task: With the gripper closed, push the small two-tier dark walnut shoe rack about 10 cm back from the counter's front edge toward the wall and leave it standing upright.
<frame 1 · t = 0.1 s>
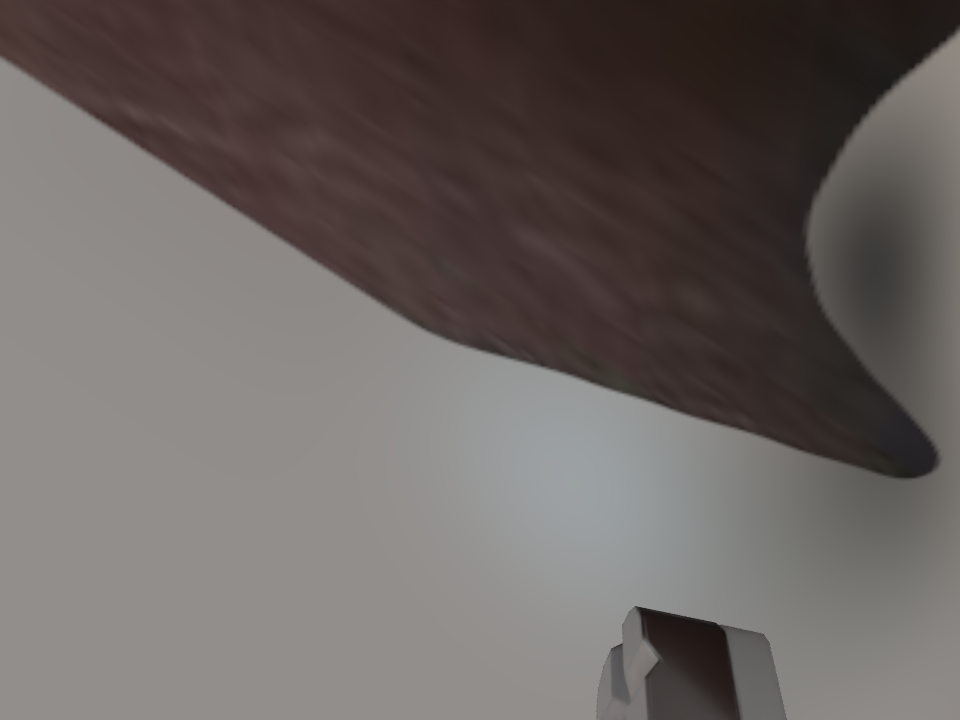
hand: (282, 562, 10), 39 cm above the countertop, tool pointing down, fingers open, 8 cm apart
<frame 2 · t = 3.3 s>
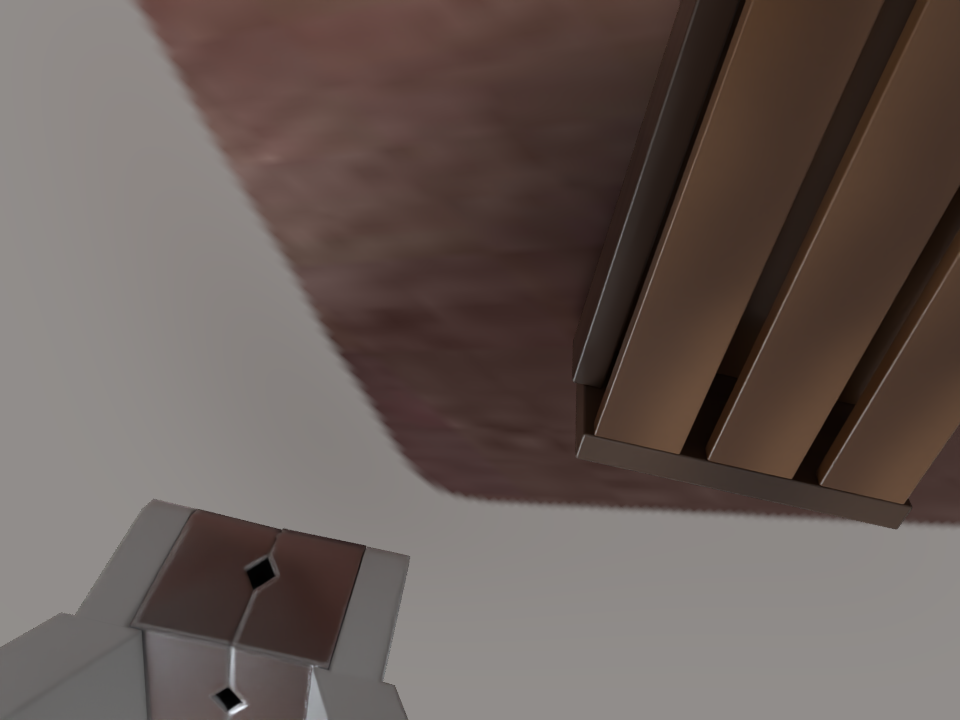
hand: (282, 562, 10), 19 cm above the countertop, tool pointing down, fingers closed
rack: (800, 165, 25), on the countertop
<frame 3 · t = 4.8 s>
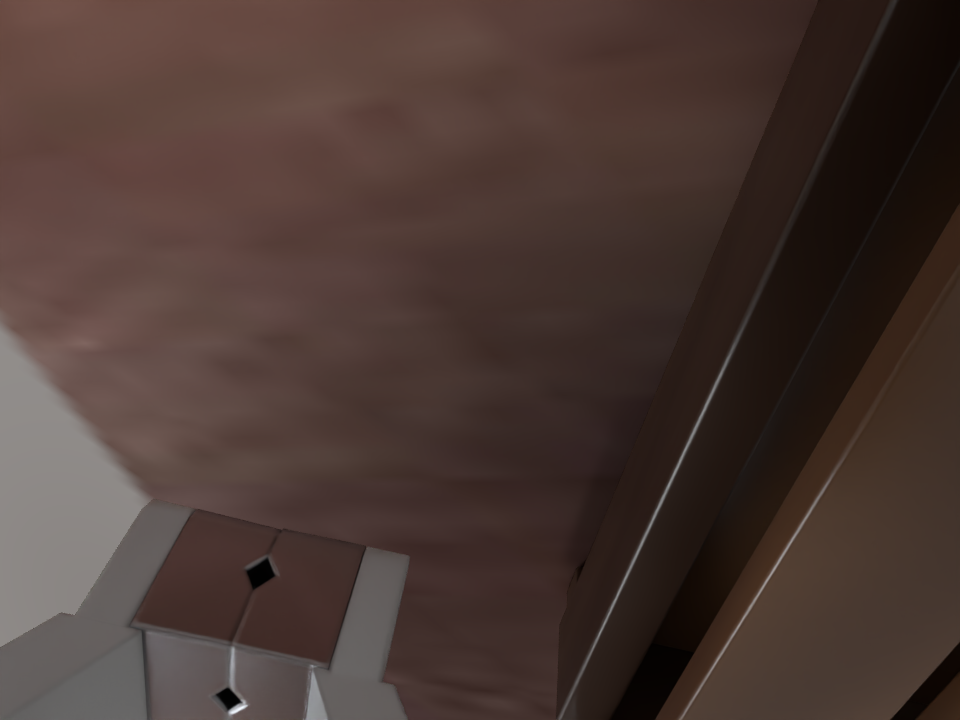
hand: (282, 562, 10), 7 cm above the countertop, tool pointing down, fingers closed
rack: (931, 381, 16), on the countertop
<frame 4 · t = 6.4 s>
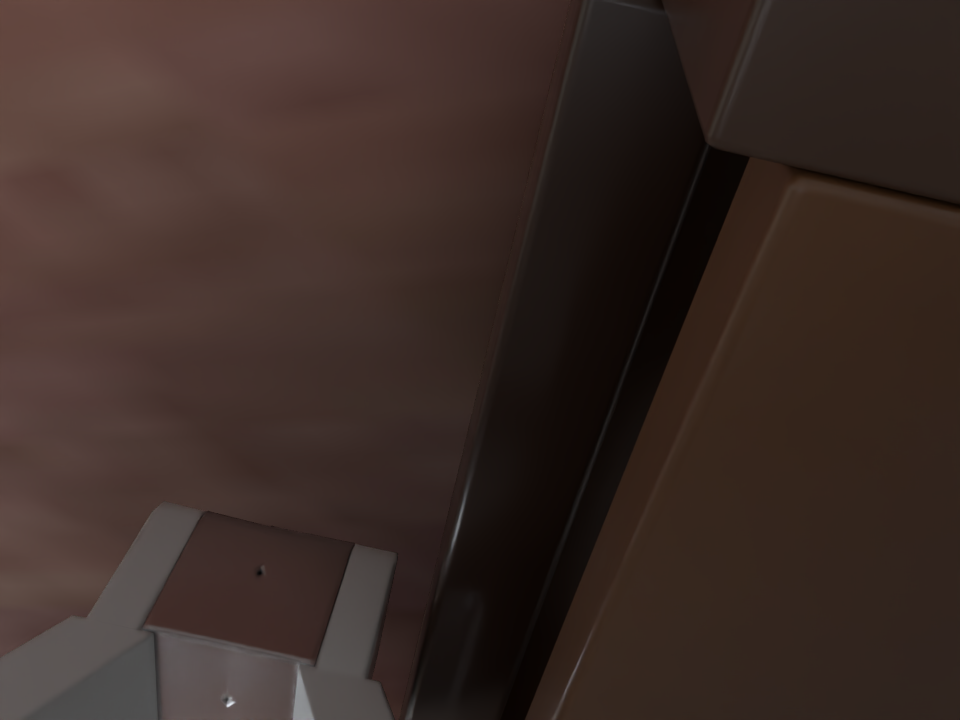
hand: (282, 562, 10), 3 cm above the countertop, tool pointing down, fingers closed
rack: (823, 517, 12), on the countertop, touching gripper
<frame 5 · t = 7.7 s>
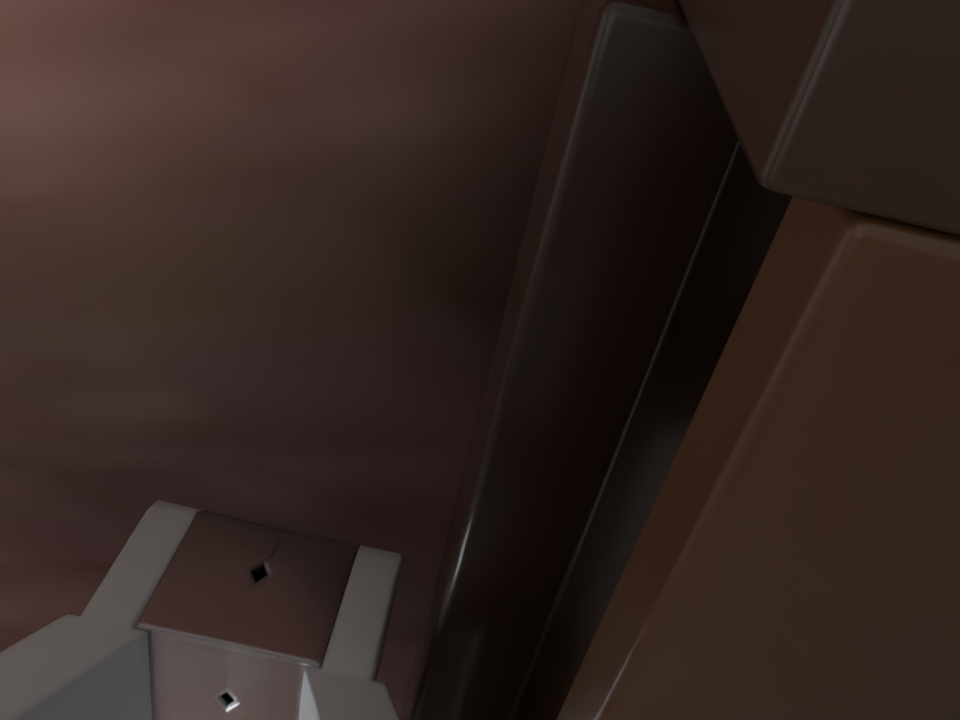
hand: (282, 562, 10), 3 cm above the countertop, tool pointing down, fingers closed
rack: (827, 534, 12), on the countertop, touching gripper
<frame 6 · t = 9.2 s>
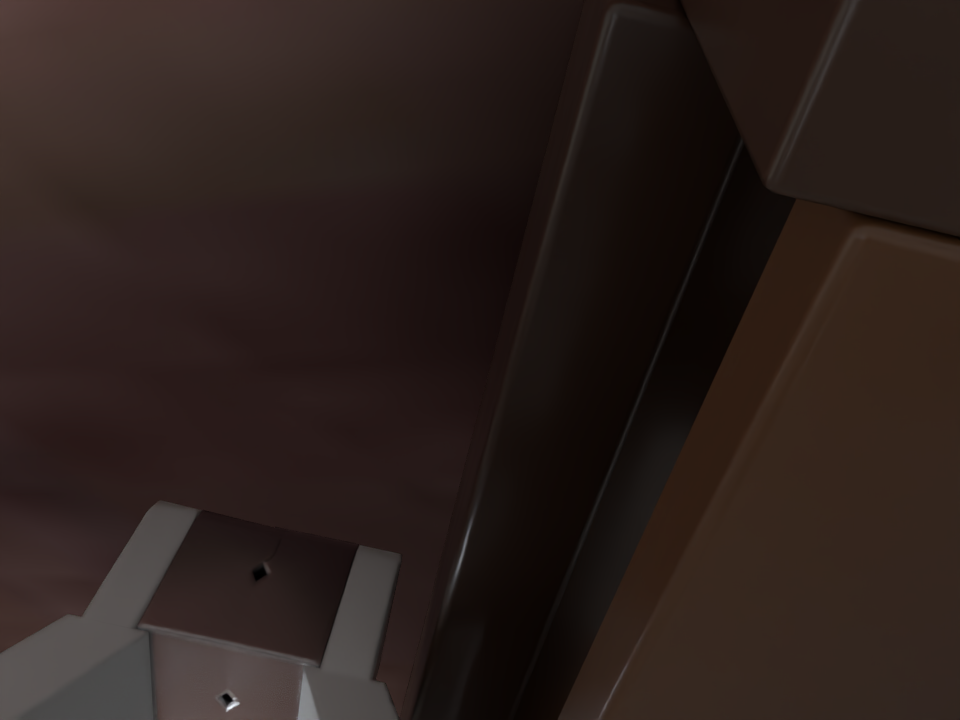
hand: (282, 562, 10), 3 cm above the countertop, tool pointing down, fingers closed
rack: (826, 534, 12), on the countertop, touching gripper
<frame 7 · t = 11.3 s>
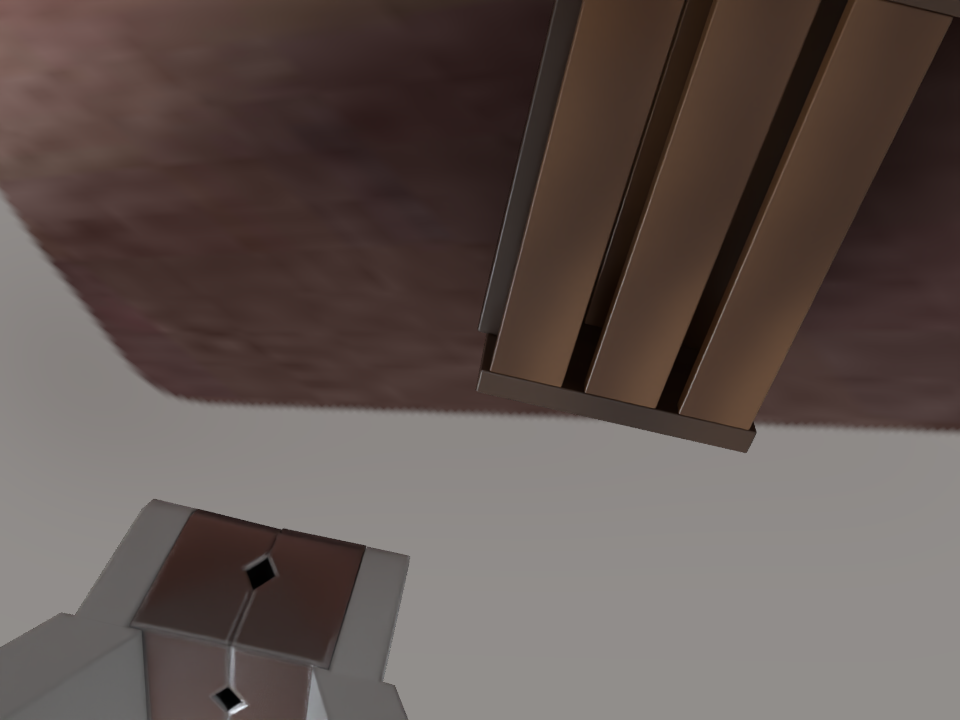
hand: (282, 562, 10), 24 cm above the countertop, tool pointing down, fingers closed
rack: (668, 149, 30), on the countertop
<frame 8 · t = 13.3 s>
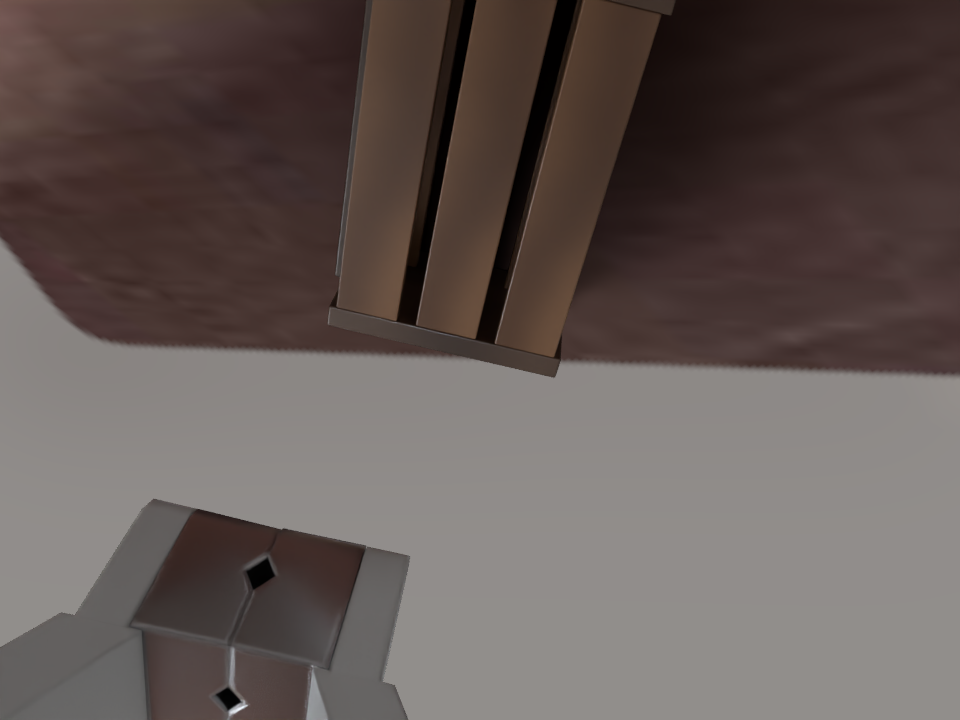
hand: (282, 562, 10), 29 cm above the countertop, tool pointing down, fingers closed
rack: (495, 122, 36), on the countertop
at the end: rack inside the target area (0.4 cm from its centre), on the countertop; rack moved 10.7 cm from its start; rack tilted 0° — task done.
